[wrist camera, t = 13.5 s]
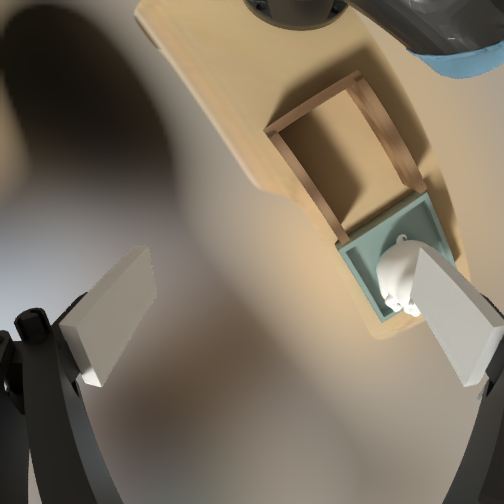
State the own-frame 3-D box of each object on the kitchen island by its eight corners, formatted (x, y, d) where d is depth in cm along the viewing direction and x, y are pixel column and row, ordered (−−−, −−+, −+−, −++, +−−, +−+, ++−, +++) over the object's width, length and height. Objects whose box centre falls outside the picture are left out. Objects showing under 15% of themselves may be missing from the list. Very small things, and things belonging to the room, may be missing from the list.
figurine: (365, 239, 42) (392, 278, 31) (423, 221, 40) (463, 253, 29) (375, 294, 46) (398, 342, 35) (428, 276, 44) (461, 318, 33)
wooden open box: (264, 129, 38) (262, 130, 32) (346, 76, 34) (358, 69, 28) (334, 229, 43) (342, 245, 37) (409, 180, 39) (427, 188, 33)
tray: (334, 243, 44) (337, 250, 41) (419, 188, 39) (427, 192, 37) (377, 314, 48) (381, 323, 46) (451, 266, 43) (458, 273, 41)
